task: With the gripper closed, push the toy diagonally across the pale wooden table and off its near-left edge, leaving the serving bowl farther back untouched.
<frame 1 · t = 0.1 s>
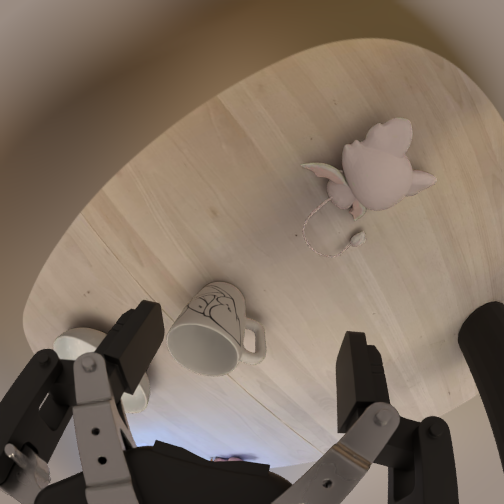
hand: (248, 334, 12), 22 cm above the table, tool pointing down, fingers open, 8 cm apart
vase: (482, 326, 35), on the table
rabbit figure: (234, 457, 64), on the table
toy: (365, 185, 30), on the table
serving bowl: (113, 354, 51), on the table
mug: (233, 304, 40), on the table
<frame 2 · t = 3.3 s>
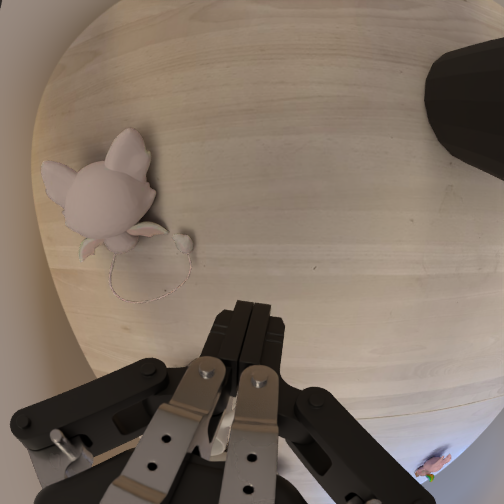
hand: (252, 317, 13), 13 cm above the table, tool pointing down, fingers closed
vase: (472, 107, 17), on the table
rabbit figure: (431, 458, 43), on the table
toy: (138, 202, 26), on the table
mug: (219, 372, 35), on the table
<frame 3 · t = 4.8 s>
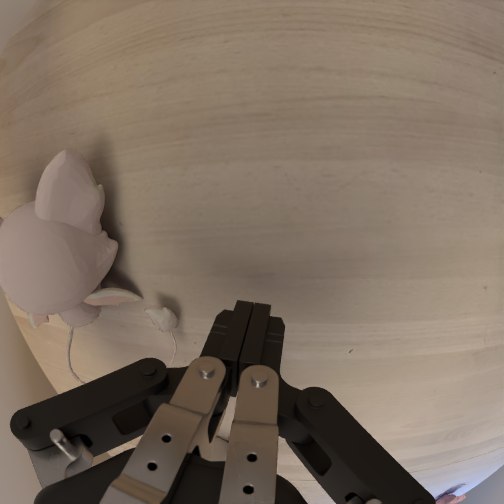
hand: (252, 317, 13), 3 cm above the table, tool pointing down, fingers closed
rabbit figure: (443, 494, 34), on the table
toy: (98, 253, 18), on the table
mug: (218, 442, 26), on the table
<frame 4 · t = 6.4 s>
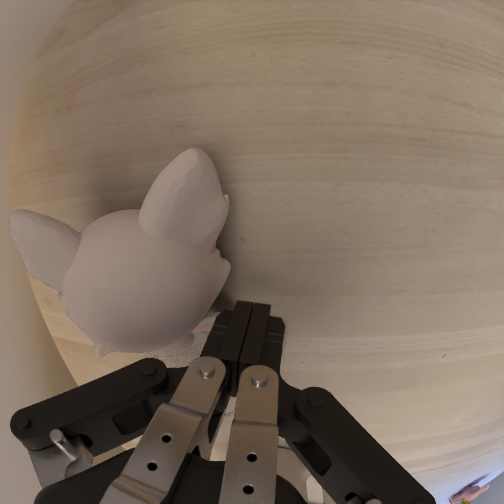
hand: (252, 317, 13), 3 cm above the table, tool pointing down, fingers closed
rabbit figure: (467, 486, 33), on the table
toy: (189, 271, 16), on the table, touching gripper
mug: (286, 453, 25), on the table
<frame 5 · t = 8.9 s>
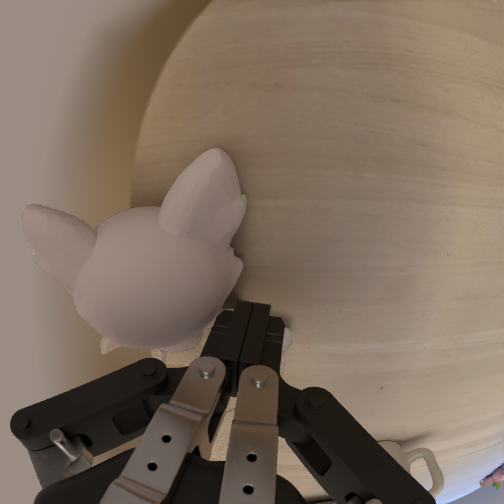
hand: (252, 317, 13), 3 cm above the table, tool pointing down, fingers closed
rabbit figure: (497, 468, 34), on the table
toy: (200, 268, 17), on the table, touching gripper
serving bowl: (333, 503, 39), on the table
mug: (386, 446, 25), on the table
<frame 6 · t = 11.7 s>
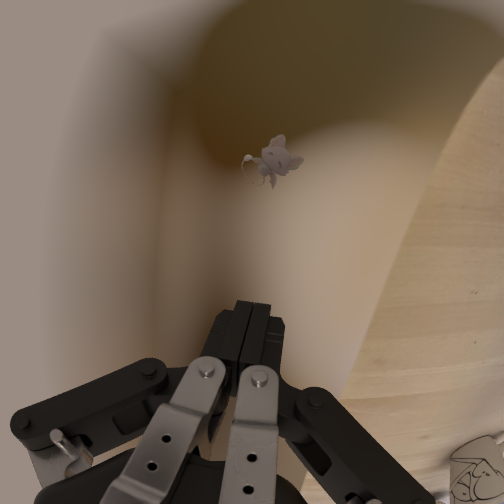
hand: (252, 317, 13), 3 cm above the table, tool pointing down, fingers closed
toy: (262, 156, 70), on the floor
mug: (481, 441, 22), on the table
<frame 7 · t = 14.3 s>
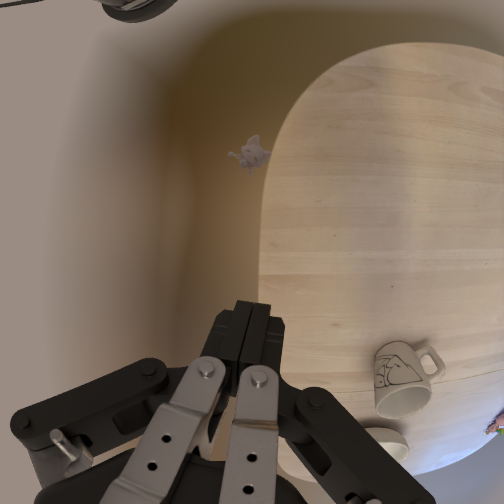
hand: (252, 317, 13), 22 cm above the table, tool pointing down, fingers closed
rabbit figure: (499, 415, 48), on the table
toy: (242, 153, 90), on the floor
serving bowl: (362, 437, 55), on the table
mug: (401, 350, 41), on the table
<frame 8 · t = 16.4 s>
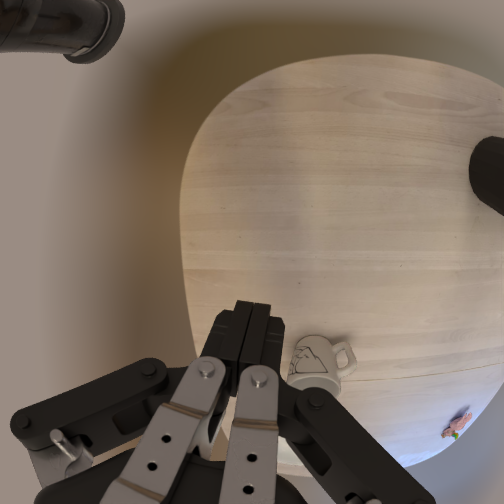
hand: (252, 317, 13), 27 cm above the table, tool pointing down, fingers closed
vase: (493, 170, 30), on the table
rabbit figure: (454, 419, 56), on the table
serving bowl: (304, 427, 62), on the table
mug: (321, 344, 48), on the table
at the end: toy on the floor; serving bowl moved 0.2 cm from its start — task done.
